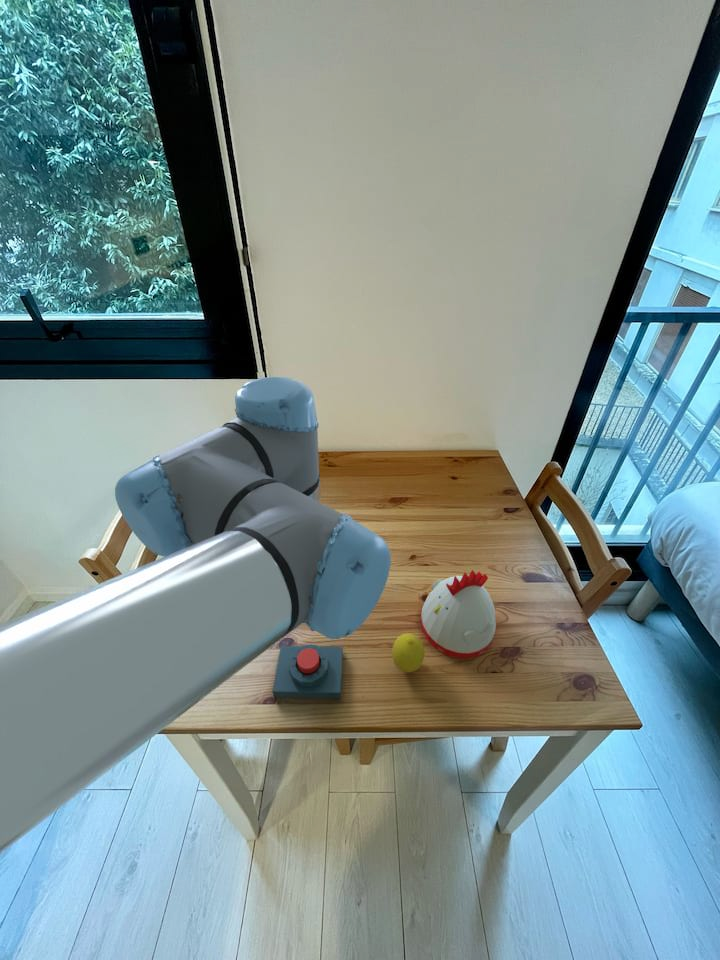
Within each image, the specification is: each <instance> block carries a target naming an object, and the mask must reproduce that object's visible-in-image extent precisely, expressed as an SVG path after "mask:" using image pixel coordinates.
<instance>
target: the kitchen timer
mask: <svg viewBox="0 0 720 960" xmlns="http://www.w3.org/2000/svg"><path fill="white" fill-rule="evenodd" d="M488 579H489V577H488V575H487V574H486V573H484V574H482V573H481V571H478V572H477V573H476V572H475V571H474V570H473V569H472V570H471V571H470V573H469V575H468V574H467V573H466V572H464V573H463V575H457V574H456V575H453V576H450V577H448V578H446V579H441V578H439V579H437V580H435V581H434V582H433V583H432V585H431V591H430V592H429V593H428V594H427V597H426V599H425V601H424V603H423V605H422V608H421V611H420V621H419V622H420V627H421V631H422V633H423V635H424V636H425V638H426V640H427V642H429V643H430V644H431V645H432V646H433V647H434V648H435V649H436V650H438V651H439V652H441V653H443V654H444V655H447V656H450V657H453V658H456V659H470V658H475V657H478V656H480V655H481V654H483V653H485V652H486V651H487V650H488V648H489V647H490V646H491V645H492V643H493V639H494V637H495V634H496V629H497V622H496V621H497V619H496V611H495V605H494V602H493V600H492V597H491V594H490V592H488V590H487V589H486V588H485V586H484V584H486V582H487V581H488Z"/></svg>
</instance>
